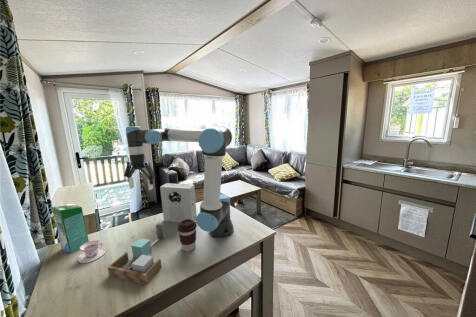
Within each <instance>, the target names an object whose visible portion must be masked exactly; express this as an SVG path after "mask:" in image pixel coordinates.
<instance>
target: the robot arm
mask: <svg viewBox="0 0 476 317" xmlns="http://www.w3.org/2000/svg"><path fill="white" fill-rule="evenodd" d="M125 136H126V141H127V149H128V154H129V160H128V161H127V162H126V168H125V171H124V174H123V176H124V177H126V178H127V183H128V185H129V189H131V190H132V189H133V188H135V183H134V176H133V174H134V173H135V172H136V170H139V171H141V172H142V173H143V174H144V176H146V177H147V185H148V191H152V190H153V189H154V179H155V178H156V174H155V172H154V170H153V168H152V167H151V164H150V162H149V161H146V162H145V153H144V152H145V151H144V144H148V145H149V144H150V145H153V144H155V145H156V144H160V143H161V142H181V143H182V142H185V143H198V147H200V150H201V154H202V156H203V157H204V172H203V173H204V178H203V196H202V197H203V199H202V201H201V202H200V204H199V206H200V207H199V213H198V214H197V217H196V220H195V222H196V224H197V226H198V227H199V228H200V229H201V230H202V231H205V232H206V233H207V232H208V233H209V234H210V236H212V237H214V238H219V239H220V238H227V237H230V235H232V234H233V232H234V224H233V222H232V219H231V201H230V196H229V195H227V194H224V193H221V188H222V171H223V170H222V169H223V168H222V167H223V159H224V157H226V154H227V152H226V151H227V147H229V146H230V144H231V143H232V141H233V134H232V131H231V129H229V128H228V127H226V126H222V125H220V126H209V127H206V128H205V129H204V128H169V127H167V128H153V129H141V126H140V125H139V126H138V125H135V126H126V127H125Z"/></svg>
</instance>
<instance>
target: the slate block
mask: <svg viewBox="0 0 476 317" xmlns="http://www.w3.org/2000/svg"><path fill="white" fill-rule="evenodd" d="M154 263H155V262H154V257H153V256H151V255H148V256H147V255H141V256H140V257H139V258H138V259H137V258H136V259H135V261H133V262H132V263H131V265H132V268H133V271H136V272H140V273H146V272H147V271H148V269H149V268H150V267H151V266H152V265H153V264H154Z"/></svg>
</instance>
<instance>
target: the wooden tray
mask: <svg viewBox="0 0 476 317" xmlns="http://www.w3.org/2000/svg"><path fill="white" fill-rule="evenodd" d="M161 260H162V259H161V258H158V259H157V260H155V262H154V264H153V265H152V266H151V267H150V268H149V269H148V271H147V272H146V273H140V272H136V271H133V268H132V264H130V265H129V267H127V268H122V267H123V266H124V265H126V263H128V261H130V260H129V254H128V252H127V251H126V252H124V253H123V254H122V255H121V256H120V257H118V258H116V260H115V261H113V262H112V263H111V264H109V265H108V266H107V272H108V276H109V277H113V278H116V279H120V280H121V279H122V280H125V281H130V282H134V283H138V284H140V285H141V284H142V285H148V284H149V283H150V282H151V281H152V279H153V278H154V277H155V275H156V274H157V273H158V272H159V271H160V270H161V268H162V262H161Z"/></svg>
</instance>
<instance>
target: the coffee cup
mask: <svg viewBox="0 0 476 317" xmlns="http://www.w3.org/2000/svg"><path fill="white" fill-rule="evenodd" d="M178 223H179V224H177V231H178V235H179V242H180V244H181V245H180V246H181V249H182V251H184V252H191V251H193V250H194V249H195V248H196V245H197V244H196V242H197V241H196V240H197V226H198V225H197V222H196V220H195V221H193V220H191V219H186V220H183V221H181V222H178Z"/></svg>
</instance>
